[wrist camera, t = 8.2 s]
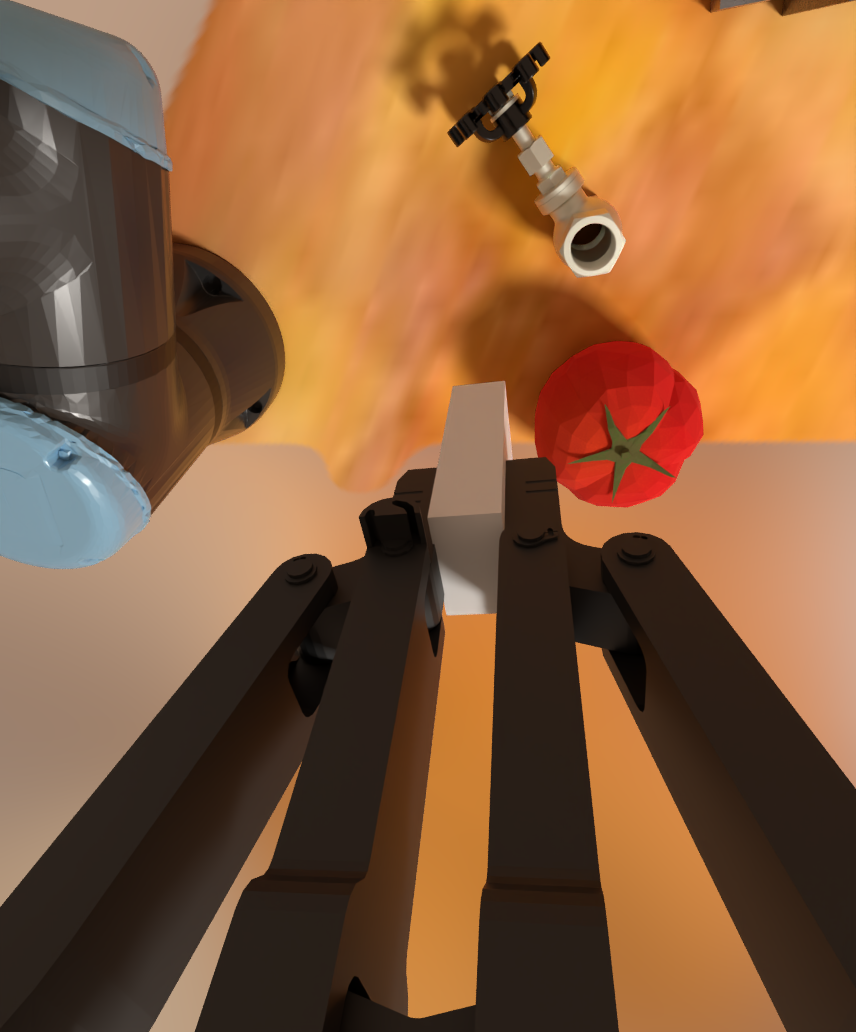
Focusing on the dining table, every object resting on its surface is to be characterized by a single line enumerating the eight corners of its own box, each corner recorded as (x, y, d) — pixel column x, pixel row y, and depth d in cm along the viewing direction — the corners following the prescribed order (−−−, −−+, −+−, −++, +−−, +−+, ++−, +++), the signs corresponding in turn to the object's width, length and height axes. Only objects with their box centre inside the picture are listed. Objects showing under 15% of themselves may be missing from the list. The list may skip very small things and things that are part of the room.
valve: (643, 216, 41) (538, 43, 36) (662, 238, 36) (542, 38, 31) (558, 281, 44) (451, 128, 39) (564, 310, 39) (441, 137, 34)
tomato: (689, 447, 50) (724, 521, 42) (546, 472, 53) (552, 547, 44) (680, 300, 44) (719, 354, 35) (518, 339, 46) (519, 396, 38)
